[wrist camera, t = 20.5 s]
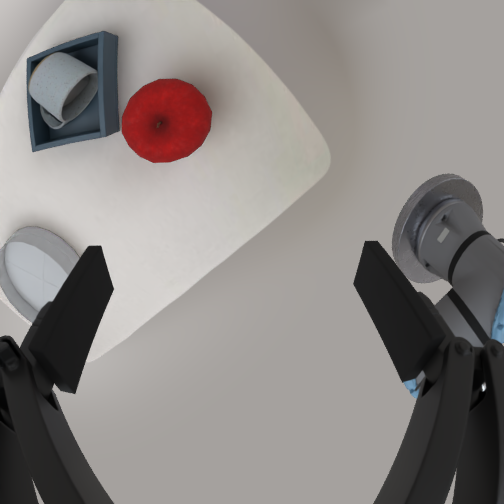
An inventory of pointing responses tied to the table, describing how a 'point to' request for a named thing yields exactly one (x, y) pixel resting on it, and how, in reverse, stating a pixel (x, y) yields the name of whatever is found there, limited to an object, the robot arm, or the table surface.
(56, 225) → the table surface
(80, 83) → the ceramic mug
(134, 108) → the apple
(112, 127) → the tub
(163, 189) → the table surface
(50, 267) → the dish
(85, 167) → the table surface
